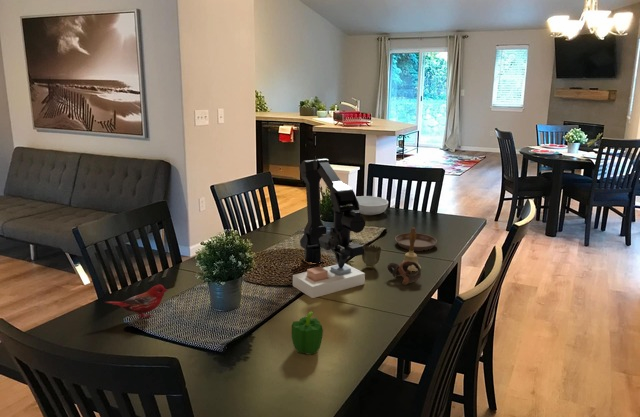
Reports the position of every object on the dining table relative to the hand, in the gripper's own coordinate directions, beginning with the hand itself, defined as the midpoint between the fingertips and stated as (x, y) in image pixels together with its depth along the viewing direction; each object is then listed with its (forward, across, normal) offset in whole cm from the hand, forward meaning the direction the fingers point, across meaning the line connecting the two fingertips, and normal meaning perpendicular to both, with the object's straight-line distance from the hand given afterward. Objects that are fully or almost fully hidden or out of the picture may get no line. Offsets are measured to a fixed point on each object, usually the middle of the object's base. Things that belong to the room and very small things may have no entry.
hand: (340, 267), depth 178 cm
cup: (+6, -5, +18) cm, 19 cm away
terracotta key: (+2, 0, -10) cm, 10 cm away
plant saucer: (+6, -15, +52) cm, 54 cm away
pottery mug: (+6, +10, +20) cm, 24 cm away
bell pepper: (+6, +32, -35) cm, 48 cm away
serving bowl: (+6, -67, +69) cm, 96 cm away
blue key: (+3, 0, 0) cm, 3 cm away
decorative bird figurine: (+6, -10, -67) cm, 68 cm away
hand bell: (+6, +3, +31) cm, 32 cm away
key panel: (+5, 0, -5) cm, 7 cm away
